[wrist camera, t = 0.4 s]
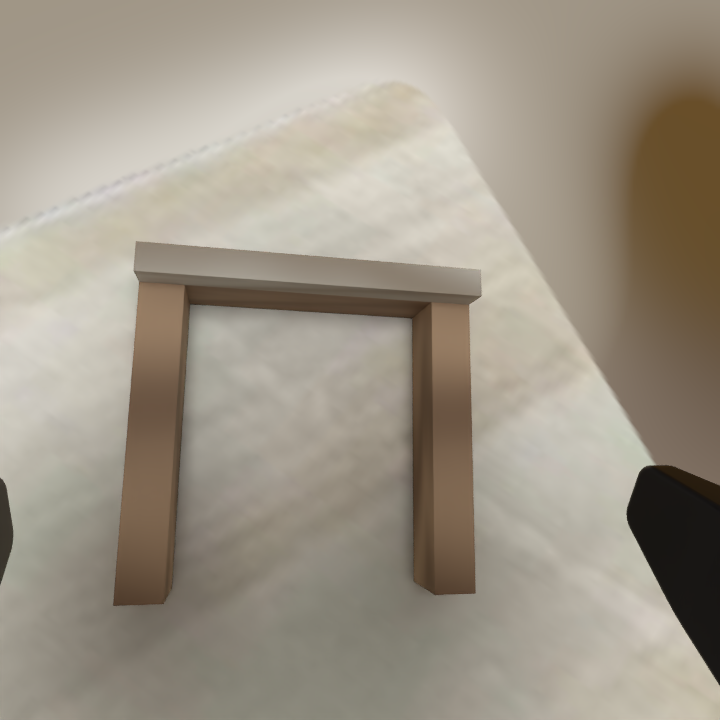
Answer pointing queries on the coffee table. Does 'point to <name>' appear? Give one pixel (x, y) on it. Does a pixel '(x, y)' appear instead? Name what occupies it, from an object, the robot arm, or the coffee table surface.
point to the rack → (314, 294)
